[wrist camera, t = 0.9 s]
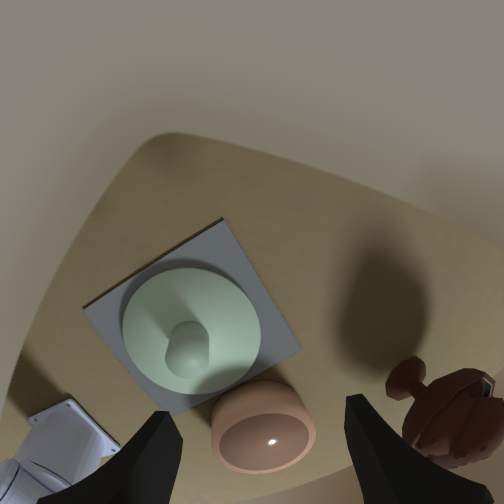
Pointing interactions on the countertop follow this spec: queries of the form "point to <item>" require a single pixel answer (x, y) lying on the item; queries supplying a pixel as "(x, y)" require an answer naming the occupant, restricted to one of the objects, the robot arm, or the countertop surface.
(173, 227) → the countertop surface
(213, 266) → the placemat
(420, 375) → the ice cream bowl
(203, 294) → the lid
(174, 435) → the robot arm
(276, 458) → the dish
